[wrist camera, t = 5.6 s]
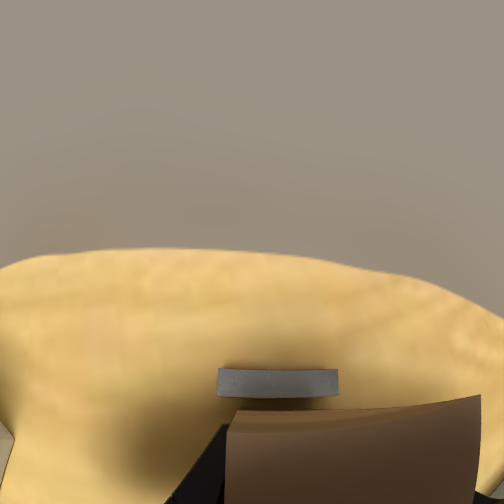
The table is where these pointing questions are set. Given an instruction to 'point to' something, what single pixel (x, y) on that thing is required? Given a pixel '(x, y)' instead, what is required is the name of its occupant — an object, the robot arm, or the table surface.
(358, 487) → the brown block
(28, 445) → the table surface
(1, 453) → the supplement box
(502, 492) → the toolbox
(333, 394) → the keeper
